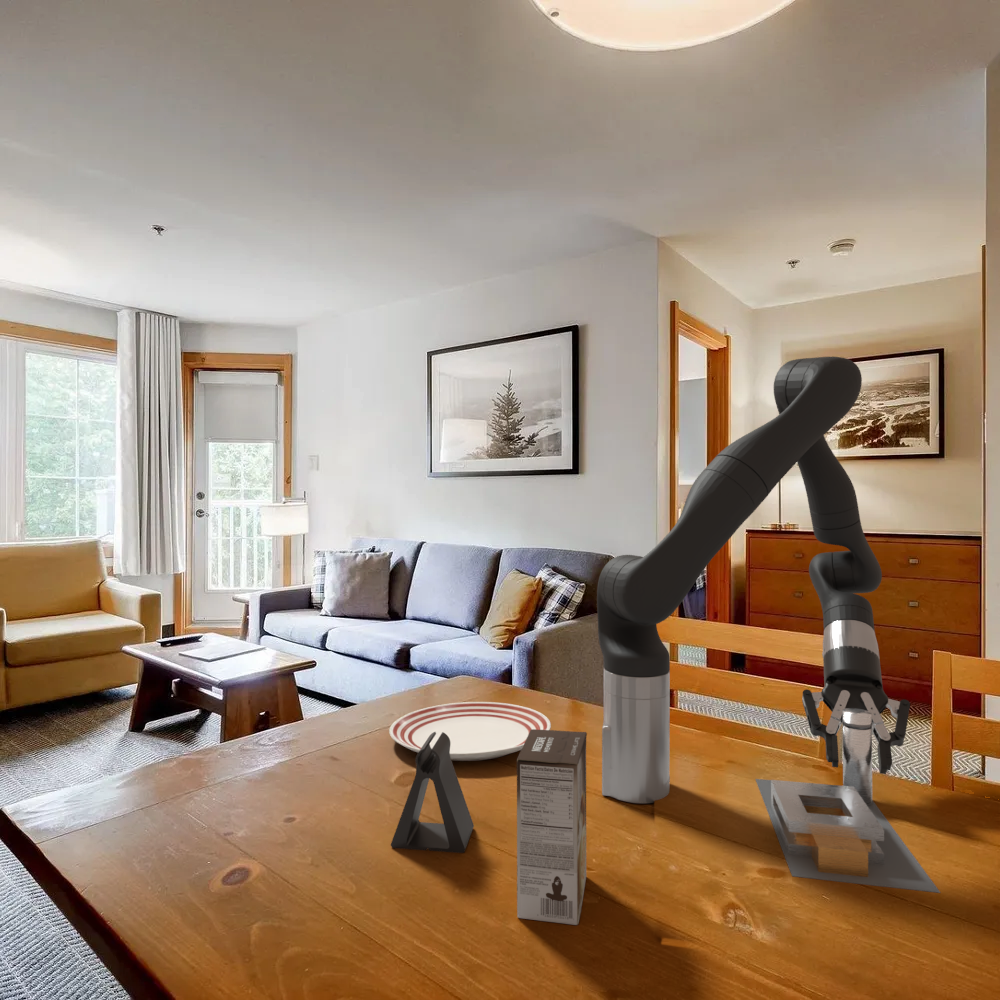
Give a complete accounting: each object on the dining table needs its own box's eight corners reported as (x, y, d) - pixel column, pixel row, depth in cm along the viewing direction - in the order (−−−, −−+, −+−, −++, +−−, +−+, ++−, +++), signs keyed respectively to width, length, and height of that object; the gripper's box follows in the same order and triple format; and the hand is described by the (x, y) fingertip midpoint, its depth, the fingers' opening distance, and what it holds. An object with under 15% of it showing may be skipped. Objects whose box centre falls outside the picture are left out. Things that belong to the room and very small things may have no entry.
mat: (792, 880, 74) (792, 875, 74) (755, 782, 100) (755, 778, 100) (940, 897, 71) (940, 892, 71) (863, 791, 96) (863, 788, 96)
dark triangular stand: (474, 828, 86) (474, 733, 86) (464, 853, 80) (464, 751, 80) (404, 823, 87) (404, 730, 87) (390, 847, 81) (390, 747, 81)
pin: (847, 805, 91) (846, 715, 91) (839, 793, 95) (838, 707, 95) (876, 807, 90) (875, 716, 90) (867, 795, 94) (867, 708, 94)
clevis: (794, 869, 75) (794, 833, 75) (771, 810, 90) (771, 779, 90) (893, 879, 73) (893, 843, 73) (853, 817, 87) (853, 786, 87)
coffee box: (529, 869, 76) (530, 726, 76) (587, 876, 75) (587, 730, 75) (515, 919, 67) (515, 757, 67) (580, 928, 66) (580, 762, 66)
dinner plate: (354, 749, 113) (354, 729, 113) (456, 707, 135) (456, 690, 135) (489, 789, 97) (489, 766, 97) (579, 734, 120) (579, 715, 120)
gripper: (799, 640, 102) (801, 747, 91) (909, 648, 97) (926, 763, 85) (798, 667, 107) (799, 772, 96) (903, 676, 101) (917, 789, 90)
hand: (859, 767), depth 91 cm, fingers open, 5 cm apart
